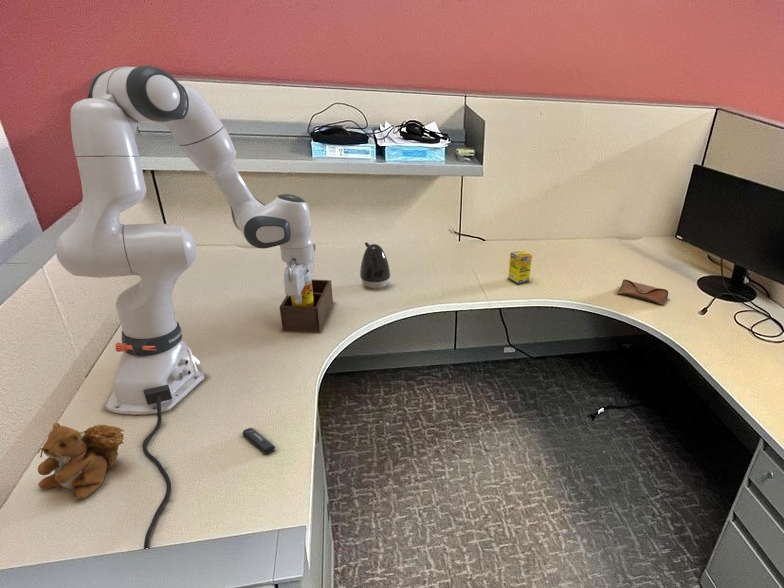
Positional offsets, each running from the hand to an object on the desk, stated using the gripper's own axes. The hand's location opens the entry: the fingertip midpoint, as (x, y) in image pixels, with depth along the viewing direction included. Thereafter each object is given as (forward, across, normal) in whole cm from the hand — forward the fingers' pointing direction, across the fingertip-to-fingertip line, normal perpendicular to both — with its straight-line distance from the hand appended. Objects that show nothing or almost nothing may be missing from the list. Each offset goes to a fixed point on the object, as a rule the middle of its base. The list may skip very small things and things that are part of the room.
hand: (302, 297), depth 166 cm
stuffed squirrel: (+9, -66, +26) cm, 72 cm away
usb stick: (+9, -56, -3) cm, 57 cm away
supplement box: (+9, +41, -69) cm, 81 cm away
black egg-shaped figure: (+9, +30, -17) cm, 36 cm away
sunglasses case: (+9, +32, -115) cm, 120 cm away
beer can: (+7, 0, 0) cm, 7 cm away
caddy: (+9, +5, 0) cm, 10 cm away
